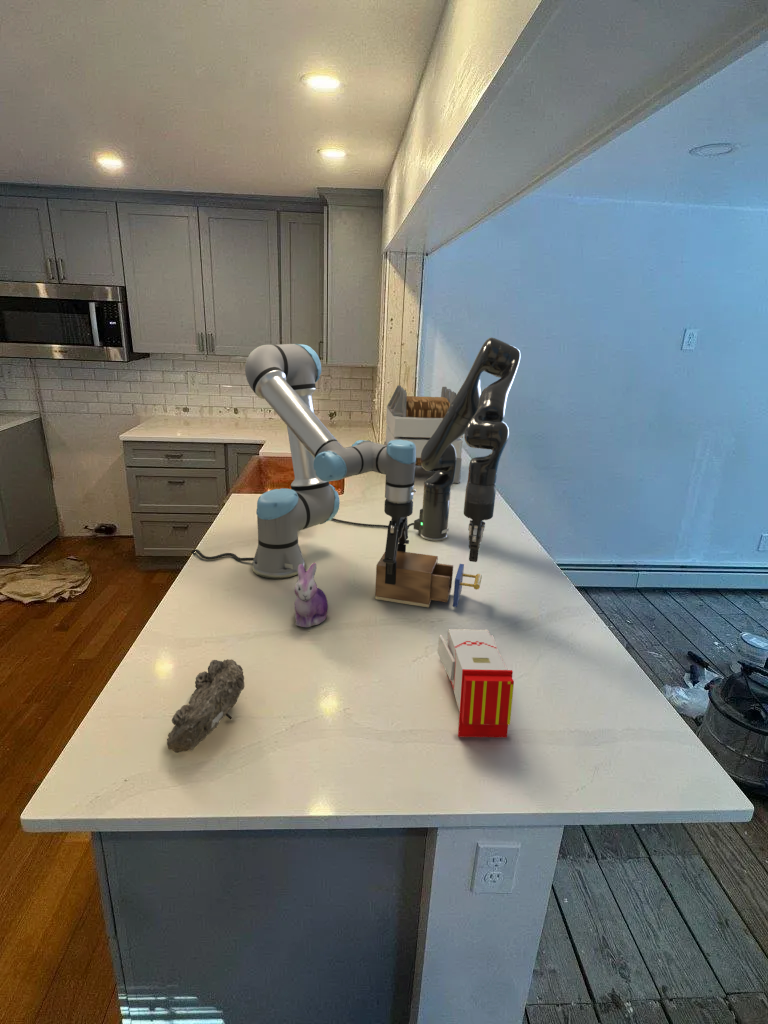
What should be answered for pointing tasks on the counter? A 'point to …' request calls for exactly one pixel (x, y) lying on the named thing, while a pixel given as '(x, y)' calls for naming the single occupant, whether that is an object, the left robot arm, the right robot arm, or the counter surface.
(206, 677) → the fossil
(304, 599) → the figurine
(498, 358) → the right robot arm
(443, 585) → the drawer
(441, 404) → the transformer
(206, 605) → the counter surface
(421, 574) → the cabinet
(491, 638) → the toy
